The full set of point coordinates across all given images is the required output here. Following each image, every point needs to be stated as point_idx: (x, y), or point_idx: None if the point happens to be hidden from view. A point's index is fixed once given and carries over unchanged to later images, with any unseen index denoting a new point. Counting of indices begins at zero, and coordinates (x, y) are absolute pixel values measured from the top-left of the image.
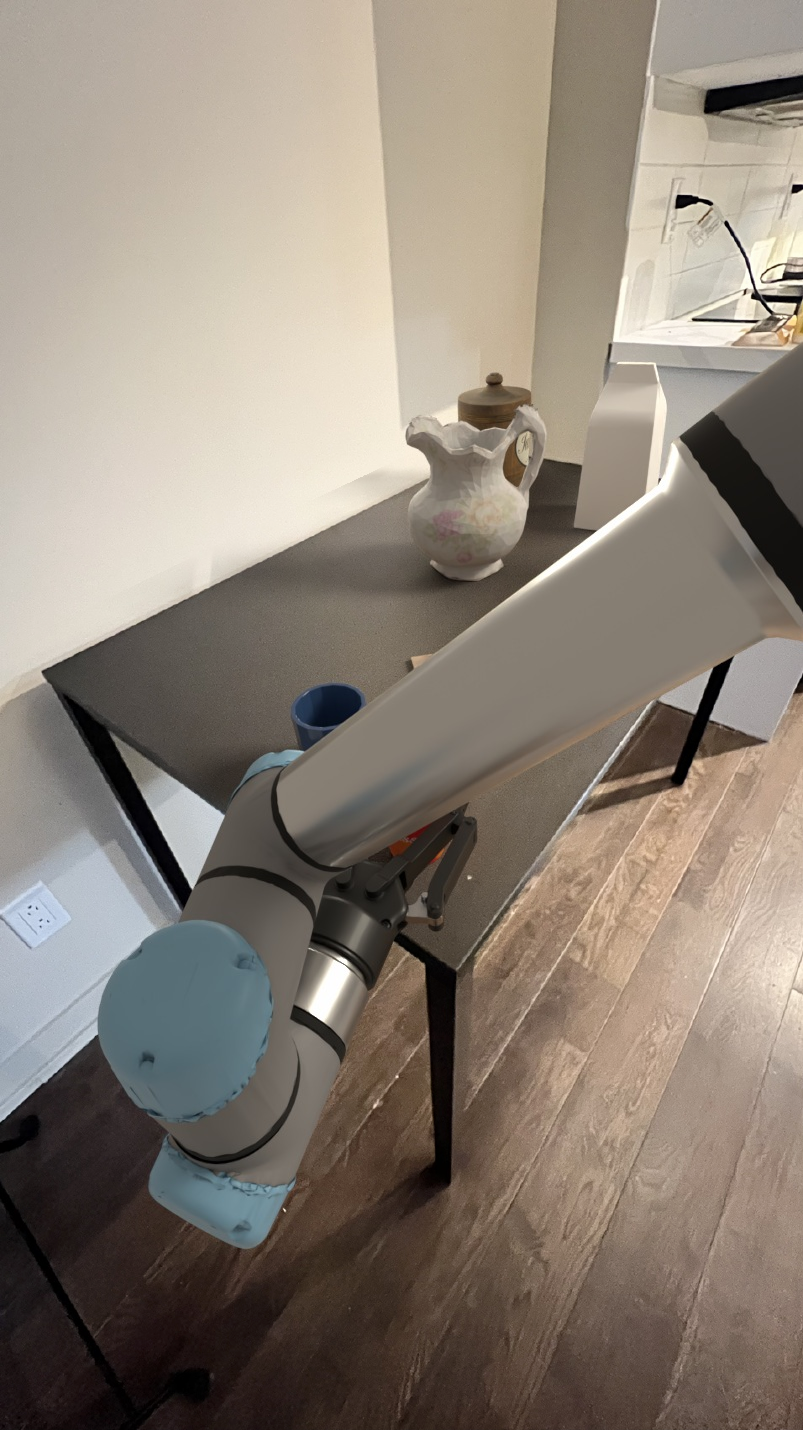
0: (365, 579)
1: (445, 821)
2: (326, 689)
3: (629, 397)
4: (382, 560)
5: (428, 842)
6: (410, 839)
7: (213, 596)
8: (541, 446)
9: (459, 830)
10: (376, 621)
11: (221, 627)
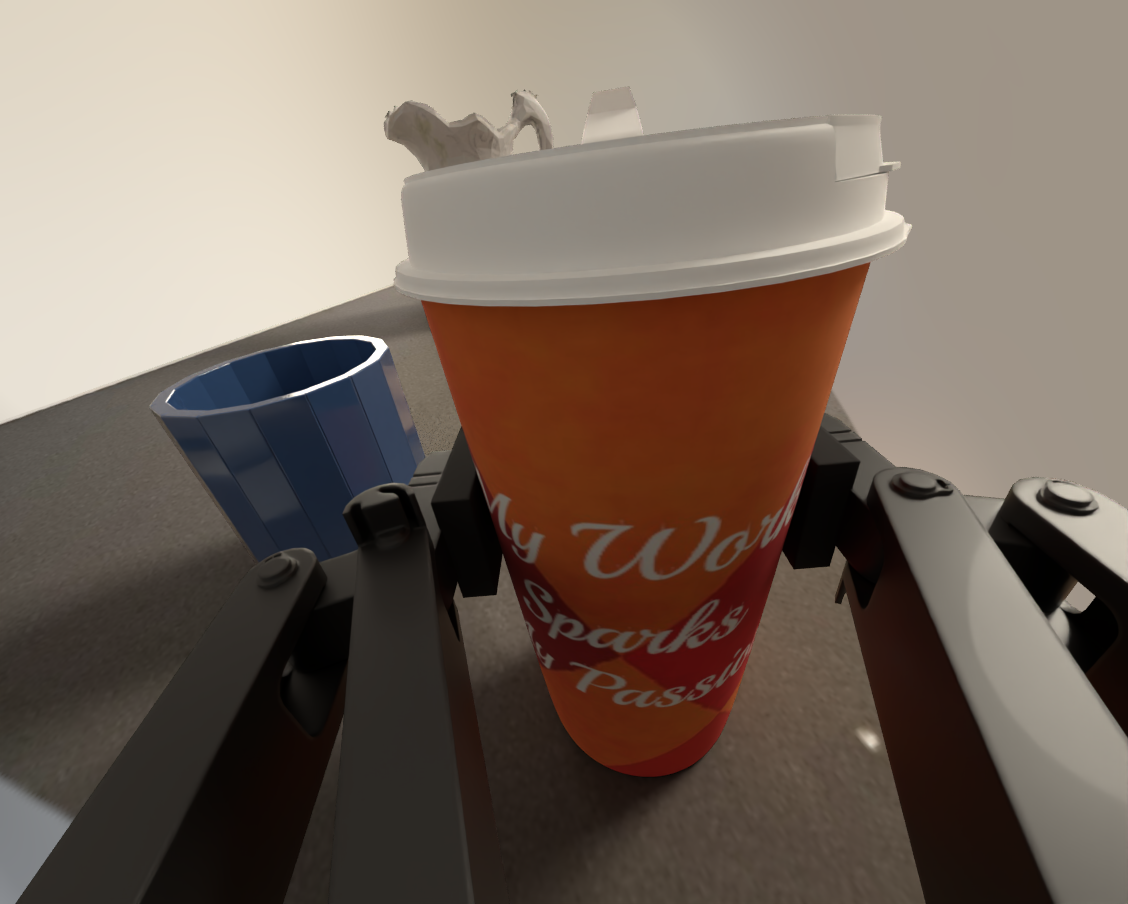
0: (372, 331)
1: (959, 537)
2: (282, 359)
3: (613, 122)
4: (391, 317)
5: (1101, 723)
6: (690, 688)
7: (139, 382)
8: (549, 142)
9: (1106, 557)
10: (395, 355)
11: (138, 407)
